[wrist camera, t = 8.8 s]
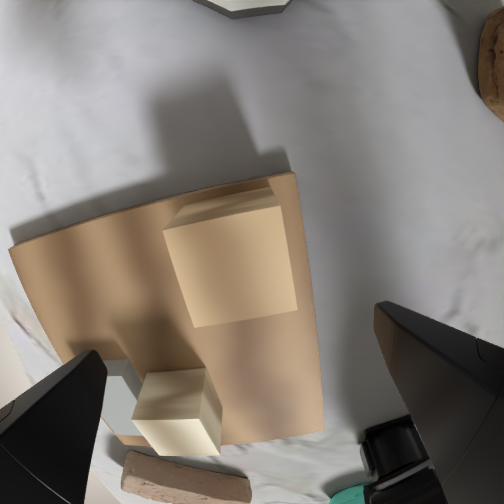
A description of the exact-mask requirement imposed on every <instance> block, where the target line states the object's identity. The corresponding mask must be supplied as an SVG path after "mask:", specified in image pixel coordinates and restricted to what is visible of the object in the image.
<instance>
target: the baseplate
mask: <svg viewBox="0 0 504 504" xmlns="http://www.w3.org/2000/svg"><path fill="white" fill-rule="evenodd" d="M266 187H271V189H272V191H273V192H274V194H275V196H276V198H277V200H278V202H279V204H280V206H281V211H282V217H283V223H284V228H285V234H286V240H287V246H288V252H289V258H290V264H291V270H292V277H293V283H294V290H295V296H296V303H297V309H298V310H295V311H290V312H285V313H280V314H274V315H269V316H264V317H258V318H253V319H247V320H241V321H235V322H229V323H223V324H217V325H210V326H204V327H197V328H194V325H193V323H192V320H191V317H190V314H189V311H188V308H187V306H186V303H185V300H184V297H183V294H182V291H181V288H180V285H179V282H178V279H177V276H176V273H175V270H174V267H173V263H172V260H171V257H170V254H169V251H168V247H167V244H166V241H165V237H164V234H163V229H164V228H165V227H166V226H167V225H168V223H169V222H170V221H171V220H172V219H173V218H174V216H175V215H176V214H177V213H178V212H179V211H180V210H181V209H182V207H183V206H184V205H186V204H191V203H195V202H199V201H204V200H208V199H213V198H217V197H222V196H227V195H231V194H236V193H241V192H246V191H251V190H256V189H261V188H266ZM8 251H9V253H10V256H11V259H12V261H13V264H14V267H15V269H16V272H17V274H18V276H19V279H20V281H21V284H22V286H23V288H24V290H25V293H26V295H27V297H28V299H29V301H30V303H31V306H32V308H33V310H34V312H35V314H36V316H37V318H38V320H39V322H40V323H41V325H42V327H43V329H44V331H45V333H46V335H47V337H48V338H49V340H50V342H51V344H52V345H53V347H54V349H55V351H56V352H57V354H58V356H59V357H60V359H61V361H62V362H63V364H65V363H67V362H68V361H70V360H71V359H73V358H74V357H76V356H77V355H78V354H80V353H81V352H83V351H84V350H91V349H94V350H96V351H97V352H98V353H99V355H100V357H101V359H102V360H103V361H105V360H123V359H129V360H130V362H131V364H132V365H133V367H134V369H135V371H136V373H137V374H138V376H139V378H140V380H141V381H142V383H144V380H145V377H146V374H147V373H153V372H167V371H178V370H189V369H199V368H206V369H207V371H208V374H209V376H210V379H211V381H212V384H213V386H214V388H215V391H216V393H217V395H218V398H219V400H220V402H221V405H222V407H223V414H222V430H221V445H231V444H242V443H252V442H260V441H268V440H275V439H281V438H288V437H293V436H299V435H304V434H309V433H314V432H319V431H324V412H323V397H322V383H321V371H320V359H319V348H318V338H317V328H316V319H315V310H314V301H313V292H312V284H311V276H310V269H309V261H308V254H307V247H306V240H305V233H304V226H303V220H302V213H301V207H300V201H299V195H298V189H297V183H296V177H295V173H294V172H292V171H290V172H284V173H279V174H273V175H268V176H263V177H258V178H253V179H248V180H243V181H238V182H233V183H228V184H224V185H219V186H215V187H210V188H206V189H201V190H197V191H193V192H188V193H184V194H180V195H176V196H172V197H168V198H164V199H160V200H156V201H153V202H149V203H145V204H141V205H138V206H134V207H130V208H127V209H123V210H120V211H116V212H113V213H109V214H106V215H102V216H99V217H96V218H93V219H89V220H86V221H83V222H80V223H76V224H73V225H70V226H67V227H64V228H61V229H58V230H55V231H52V232H49V233H46V234H43V235H40V236H38V237H35V238H32V239H29V240H26V241H24V242H21V243H18V244H16V245H14V246H13V247H11V248H9V249H8ZM101 418H102V416H101ZM102 419H103V418H102ZM103 420H104V419H103ZM104 422H105V423H106V421H105V420H104ZM106 424H107V423H106ZM107 425H108V424H107ZM108 427H109V428H110V426H109V425H108ZM110 429H111V428H110ZM111 430H112V429H111ZM112 432H113V433H114V434H115V432H114V431H113V430H112ZM115 435H116V436H117V437H118V439H119V440H120V441H121V442H122V443H123V444H124V445H135V446H151V445H150V444H149V442H148V441H147V440H146V439H145V437H144V436H133V435H117V434H115Z"/></svg>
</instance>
